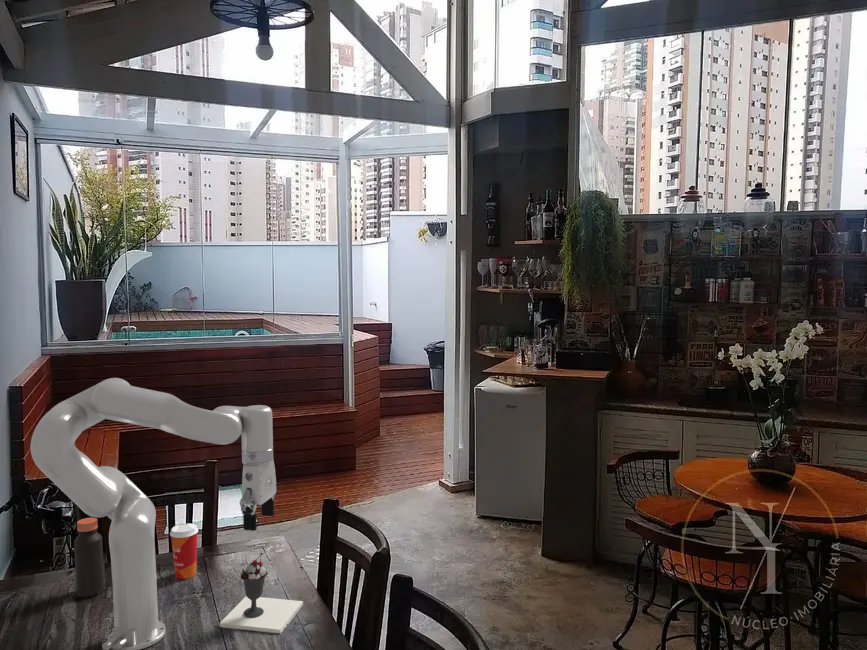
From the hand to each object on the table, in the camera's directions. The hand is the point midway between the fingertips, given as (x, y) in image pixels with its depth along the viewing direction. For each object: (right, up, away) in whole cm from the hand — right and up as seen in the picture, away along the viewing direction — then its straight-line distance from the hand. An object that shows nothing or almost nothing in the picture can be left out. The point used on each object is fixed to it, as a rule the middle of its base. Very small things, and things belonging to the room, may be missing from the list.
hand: (259, 522), depth 167 cm
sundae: (-2, -23, +1) cm, 23 cm away
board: (0, -24, +2) cm, 24 cm away
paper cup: (-28, -23, +25) cm, 44 cm away
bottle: (-50, -24, +15) cm, 57 cm away
